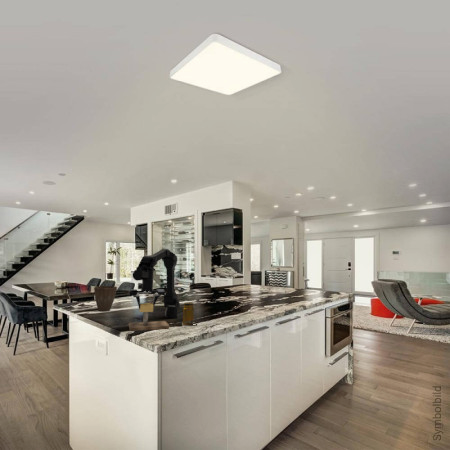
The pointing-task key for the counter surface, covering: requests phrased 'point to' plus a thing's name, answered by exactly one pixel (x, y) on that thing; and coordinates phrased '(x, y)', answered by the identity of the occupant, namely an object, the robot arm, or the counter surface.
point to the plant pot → (104, 297)
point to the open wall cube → (146, 307)
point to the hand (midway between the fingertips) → (146, 308)
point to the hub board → (148, 324)
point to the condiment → (188, 314)
